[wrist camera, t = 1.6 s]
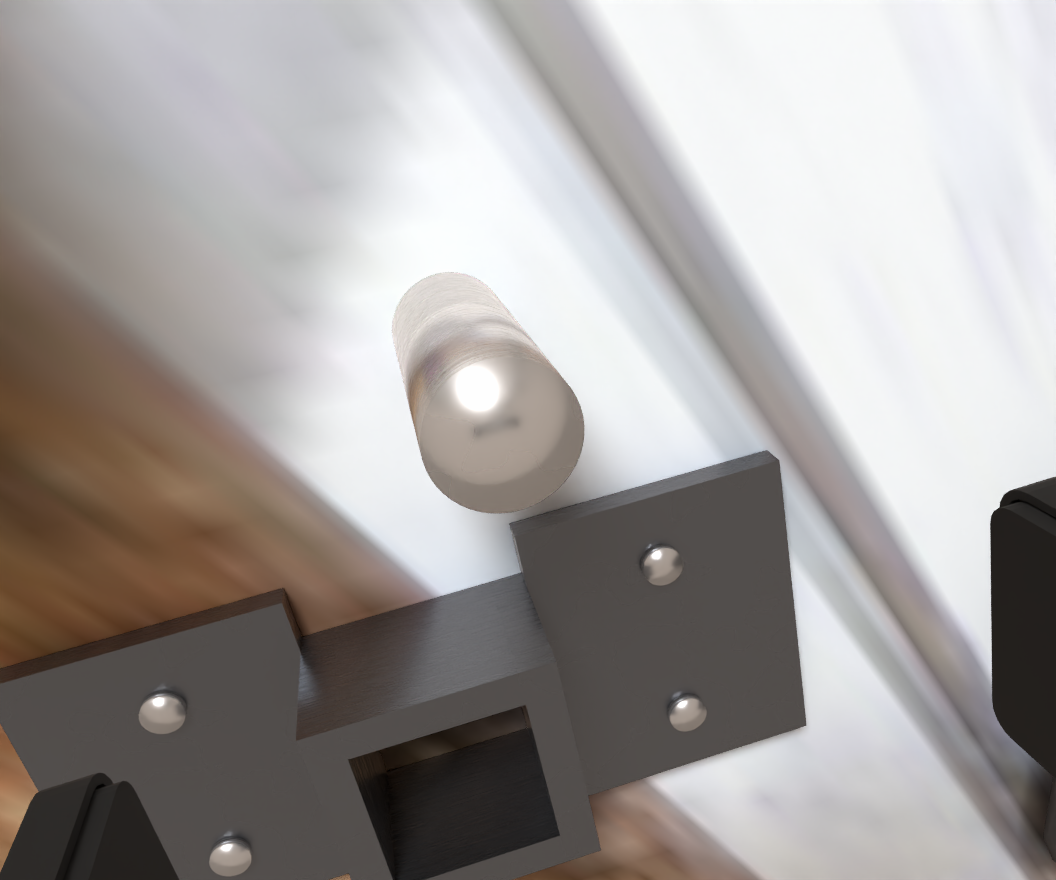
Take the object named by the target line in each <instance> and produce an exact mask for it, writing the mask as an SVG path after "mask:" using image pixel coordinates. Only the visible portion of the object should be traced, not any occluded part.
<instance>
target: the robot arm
mask: <svg viewBox="0 0 1056 880" xmlns="http://www.w3.org/2000/svg"><path fill="white" fill-rule="evenodd" d="M990 530H991V620H992V702H993V709H994V712H995V715H996V717H997V719H998V721H999V723H1000V725H1001V726H1002V728H1003V729H1004V731H1005V732H1006V733H1007V734H1008V735H1009V736H1010V738H1011V739H1013V740H1014V741H1015V742H1016V743H1017V744H1018V745H1019V746H1020V747H1021V748H1022V749H1024V750H1025V751H1026V752H1027V753H1028V754H1029V755H1030V756H1031V757H1032V758H1033V759H1035V760H1036V761H1037V762H1038V763H1039V764H1040V765H1041V766H1042V767H1043V768H1044V769H1046V770H1047V771H1048V772H1049V773H1050V774H1051V775H1052V776H1053V777H1054V778H1056V477H1052V478H1049V479H1046V480H1043V481H1039V482H1036V483H1033V484H1030V485H1027V486H1023V487H1020V488H1017V489H1014V490H1010V491H1009V492H1007V493H1006V494H1004V496H1003V498H1002V500H1001V502H1000V508H998V509H997V510H995V511H994V512H993V514H992V516H991V523H990ZM0 880H179V878H178V876H177V874H176V872H175V870H174V868H173V866H172V864H171V862H170V860H169V858H168V856H167V854H166V852H165V850H164V848H163V846H162V844H161V842H160V840H159V838H158V836H157V834H156V832H155V830H154V828H153V826H152V824H151V821H150V819H149V817H148V815H147V813H146V811H145V809H144V807H143V805H142V803H141V801H140V799H139V797H138V795H137V793H136V791H135V790H134V788H133V786H132V785H131V784H130V783H129V782H127V781H121V782H118V783H115V784H114V783H113V782H112V780H111V779H110V778H109V777H108V776H107V775H106V774H104V773H95V774H92V775H89V776H86V777H83V778H79V779H76V780H73V781H70V782H66V783H63V784H60V785H57V786H53V787H50V788H47V789H44V790H41V791H40V792H38V793H36V794H35V796H34V797H33V799H32V801H31V802H30V805H29V807H28V809H27V812H26V814H25V816H24V819H23V821H22V823H21V826H20V828H19V830H18V833H17V835H16V837H15V840H14V842H13V844H12V847H11V849H10V851H9V854H8V856H7V858H6V861H5V863H4V865H3V868H2V870H1V872H0Z"/></svg>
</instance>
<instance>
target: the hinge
mask: <svg viewBox="0 0 1056 880" xmlns="http://www.w3.org/2000/svg"><path fill="white" fill-rule="evenodd" d="M509 525H510V529H511V533H512V537H513V541H514V545H515V549H516V553H517V557H518V561H519V565H520V569H521V573H520V574H516V575H513V576H509V577H506V578H502V579H499V580H496V581H492V582H489V583H485V584H482V585H478V586H475V587H472V588H468V589H465V590H461V591H458V592H454V593H451V594H448V595H444V596H441V597H437V598H434V599H430V600H427V601H424V602H420V603H417V604H413V605H410V606H406V607H403V608H400V609H396V610H393V611H389V612H386V613H382V614H379V615H376V616H372V617H369V618H365V619H362V620H358V621H355V622H352V623H348V624H345V625H341V626H338V627H334V628H331V629H328V630H324V631H321V632H317V633H314V634H310V635H307V636H304V637H301V634H300V631H299V629H298V626H297V623H296V621H295V618H294V615H293V613H292V610H291V607H290V605H289V602H288V599H287V597H286V594H285V591H284V589H283V588H282V589H278V590H275V591H271V592H268V593H264V594H261V595H257V596H254V597H250V598H247V599H243V600H240V601H236V602H233V603H229V604H226V605H222V606H219V607H215V608H212V609H208V610H205V611H201V612H198V613H194V614H191V615H187V616H184V617H180V618H177V619H173V620H170V621H166V622H162V623H159V624H155V625H152V626H148V627H145V628H141V629H138V630H134V631H131V632H127V633H124V634H120V635H117V636H113V637H110V638H106V639H103V640H99V641H96V642H92V643H89V644H85V645H82V646H78V647H75V648H71V649H68V650H64V651H61V652H57V653H54V654H50V655H47V656H43V657H40V658H36V659H33V660H29V661H26V662H22V663H19V664H15V665H12V666H8V667H5V668H1V669H0V724H1V726H2V727H3V729H4V731H5V733H6V734H7V736H8V738H9V740H10V742H11V743H12V745H13V747H14V749H15V750H16V752H17V754H18V756H19V757H20V759H21V761H22V763H23V764H24V766H25V768H26V770H27V772H28V773H29V775H30V777H31V779H32V780H33V782H34V784H35V786H36V787H37V789H38V791H39V792H40V791H41V790H44V789H47V788H50V787H53V786H57V785H60V784H63V783H66V782H70V781H73V780H76V779H79V778H83V777H86V776H89V775H92V774H95V773H104V774H106V775H107V776H108V777H109V778H110V779H111V780H112V782H113V783H114V784H115V783H118V782H121V781H127V782H129V783H130V784H131V785H132V786H133V788H134V790H135V791H136V793H137V795H138V797H139V799H140V801H141V803H142V805H143V807H144V809H145V811H146V813H147V815H148V817H149V819H150V821H151V824H152V826H153V828H154V830H155V832H156V834H157V836H158V838H159V840H160V842H161V844H162V846H163V848H164V850H165V852H166V854H167V856H168V858H169V860H170V862H171V864H172V866H173V868H174V870H175V872H176V874H177V876H178V878H179V880H329V879H332V878H335V877H338V876H341V875H345V874H348V873H349V875H350V878H351V880H512V879H515V878H518V877H521V876H524V875H528V874H531V873H534V872H537V871H540V870H543V869H546V868H549V867H552V866H555V865H558V864H561V863H564V862H567V861H570V860H573V859H576V858H579V857H582V856H585V855H588V854H591V853H594V852H597V851H600V850H601V848H600V844H599V839H598V835H597V831H596V827H595V823H594V818H593V814H592V810H591V806H590V802H589V797H588V796H589V795H593V794H596V793H599V792H602V791H605V790H608V789H611V788H614V787H617V786H620V785H624V784H627V783H630V782H633V781H636V780H639V779H642V778H645V777H648V776H651V775H654V774H658V773H661V772H664V771H667V770H670V769H673V768H676V767H679V766H682V765H685V764H689V763H692V762H695V761H698V760H701V759H704V758H707V757H710V756H713V755H716V754H720V753H723V752H726V751H729V750H732V749H735V748H738V747H741V746H744V745H747V744H751V743H754V742H757V741H760V740H763V739H766V738H769V737H772V736H775V735H778V734H782V733H785V732H788V731H791V730H794V729H797V728H800V727H803V726H806V718H805V708H804V698H803V688H802V679H801V669H800V659H799V649H798V639H797V630H796V620H795V610H794V600H793V590H792V581H791V571H790V561H789V551H788V542H787V532H786V522H785V512H784V502H783V493H782V483H781V473H780V463H779V460H778V459H777V458H776V457H775V456H773V455H772V454H771V453H770V452H768V451H767V450H766V451H762V452H759V453H755V454H752V455H748V456H745V457H741V458H738V459H734V460H731V461H727V462H724V463H720V464H717V465H713V466H710V467H706V468H703V469H699V470H696V471H692V472H689V473H685V474H682V475H678V476H675V477H671V478H668V479H664V480H661V481H657V482H654V483H650V484H647V485H643V486H640V487H636V488H633V489H629V490H626V491H622V492H619V493H615V494H612V495H608V496H605V497H601V498H598V499H594V500H591V501H587V502H583V503H580V504H576V505H573V506H569V507H566V508H562V509H559V510H555V511H552V512H548V513H545V514H541V515H538V516H534V517H531V518H527V519H524V520H520V521H517V522H513V523H510V524H509ZM520 706H522V710H523V714H524V718H525V722H526V725H527V729H523V730H520V731H517V732H514V733H511V734H507V735H504V736H501V737H498V738H494V739H491V740H488V741H485V742H482V743H478V744H475V745H472V746H469V747H466V748H462V749H459V750H456V751H453V752H450V753H446V754H443V755H440V756H437V757H433V758H430V759H427V760H424V761H421V762H417V763H414V764H411V765H408V766H405V767H401V768H398V769H395V770H392V771H389V772H387V771H386V768H385V765H384V762H383V759H382V757H381V754H380V751H379V750H381V749H384V748H387V747H391V746H394V745H397V744H400V743H404V742H407V741H410V740H413V739H416V738H420V737H423V736H426V735H429V734H433V733H436V732H439V731H442V730H446V729H449V728H452V727H455V726H459V725H462V724H465V723H468V722H472V721H475V720H478V719H481V718H485V717H488V716H491V715H494V714H498V713H501V712H504V711H507V710H510V709H514V708H517V707H520Z"/></svg>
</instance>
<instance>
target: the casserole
mask: <svg viewBox="0 0 1056 880" xmlns="http://www.w3.org/2000/svg"><path fill="white" fill-rule="evenodd" d="M1043 838H1044V840H1045V842H1046V845H1047V847H1048V850H1049V852H1050V855H1051V857H1052V860H1054V861H1055V862H1056V778H1054V777H1053V781H1052V787H1051V793H1050V799H1049V805H1048V811H1047V817H1046V823H1045V828H1044V834H1043Z"/></svg>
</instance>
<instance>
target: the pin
mask: <svg viewBox="0 0 1056 880" xmlns="http://www.w3.org/2000/svg"><path fill="white" fill-rule="evenodd" d="M392 336H393V341H394V346H395V350H396V354H397V358H398V362H399V366H400V370H401V375H402V379H403V383H404V387H405V391H406V395H407V399H408V403H409V407H410V411H411V415H412V419H413V423H414V428H415V432H416V436H417V440H418V444H419V448H420V452H421V456H422V460H423V463H424V466H425V468H426V471H427V473H428V474H429V476H430V478H431V480H432V481H433V482H434V484H435V485H436V487H437V488H438V489H439V490H440V491H441V492H442V493H443V494H444V495H446V496H447V497H448V498H450V499H451V500H452V501H454V502H456V503H458V504H459V505H461V506H464V507H466V508H468V509H472V510H475V511H479V512H485V513H508V512H514V511H519V510H522V509H525V508H528V507H531V506H533V505H535V504H537V503H539V502H541V501H542V500H544V499H546V498H547V497H549V496H550V495H551V494H552V493H554V492H555V491H556V490H557V489H558V488H559V487H560V486H561V485H562V484H563V483H564V482H565V481H566V479H567V478H568V477H569V475H570V474H571V473H572V471H573V469H574V467H575V466H576V464H577V461H578V459H579V457H580V453H581V450H582V446H583V440H584V420H583V414H582V411H581V407H580V404H579V402H578V400H577V397H576V396H575V394H574V392H573V391H572V389H571V388H570V386H569V385H568V384H567V383H566V382H565V380H564V379H563V378H562V377H561V375H560V374H559V373H558V372H557V370H556V369H555V368H554V367H553V365H552V364H551V363H550V362H549V360H548V359H547V358H546V357H545V356H544V354H543V353H542V352H541V351H540V349H539V348H538V347H537V346H536V344H535V343H534V342H533V341H532V339H531V338H530V337H529V336H528V334H527V333H526V332H525V331H524V329H523V328H522V327H521V326H520V325H519V323H518V322H517V321H516V320H515V318H514V317H513V316H512V315H511V313H510V312H509V311H508V310H507V308H506V307H505V306H504V305H503V303H502V302H501V301H500V300H499V299H498V297H497V296H496V295H495V294H494V292H493V291H492V290H491V289H490V288H489V287H488V286H487V285H486V284H484V283H483V282H481V281H480V280H478V279H476V278H474V277H472V276H469V275H466V274H462V273H454V272H447V273H439V274H434V275H431V276H428V277H426V278H424V279H422V280H420V281H419V282H417V283H416V284H414V285H413V286H412V287H411V288H410V289H409V290H408V291H407V292H406V293H405V294H404V296H403V297H402V298H401V300H400V302H399V304H398V306H397V308H396V310H395V313H394V317H393V322H392Z"/></svg>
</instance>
